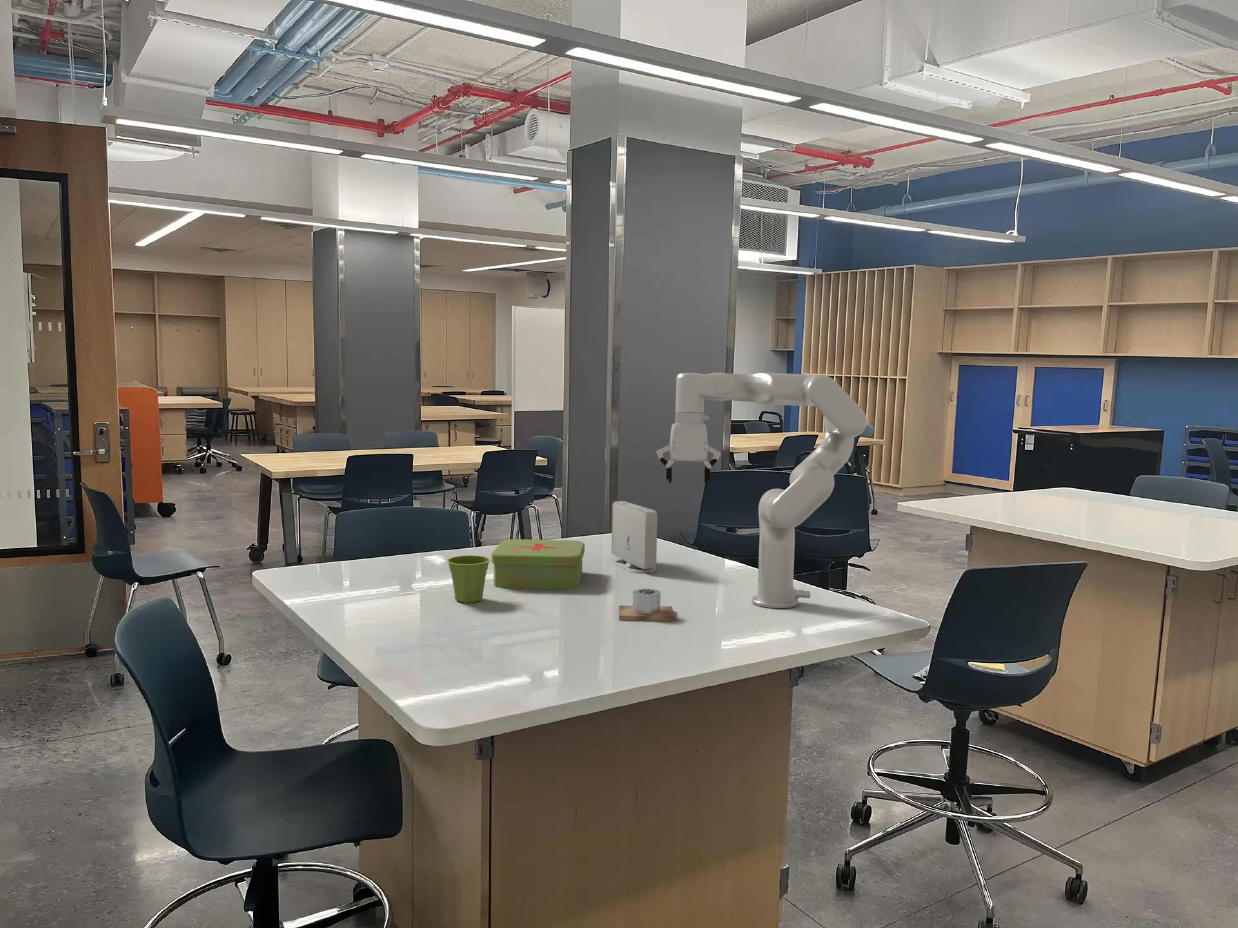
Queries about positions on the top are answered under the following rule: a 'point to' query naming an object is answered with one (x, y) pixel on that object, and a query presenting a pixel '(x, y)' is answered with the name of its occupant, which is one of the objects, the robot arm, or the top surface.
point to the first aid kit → (538, 564)
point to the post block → (663, 615)
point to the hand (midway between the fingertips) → (687, 482)
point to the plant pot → (468, 576)
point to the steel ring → (646, 601)
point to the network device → (634, 536)
